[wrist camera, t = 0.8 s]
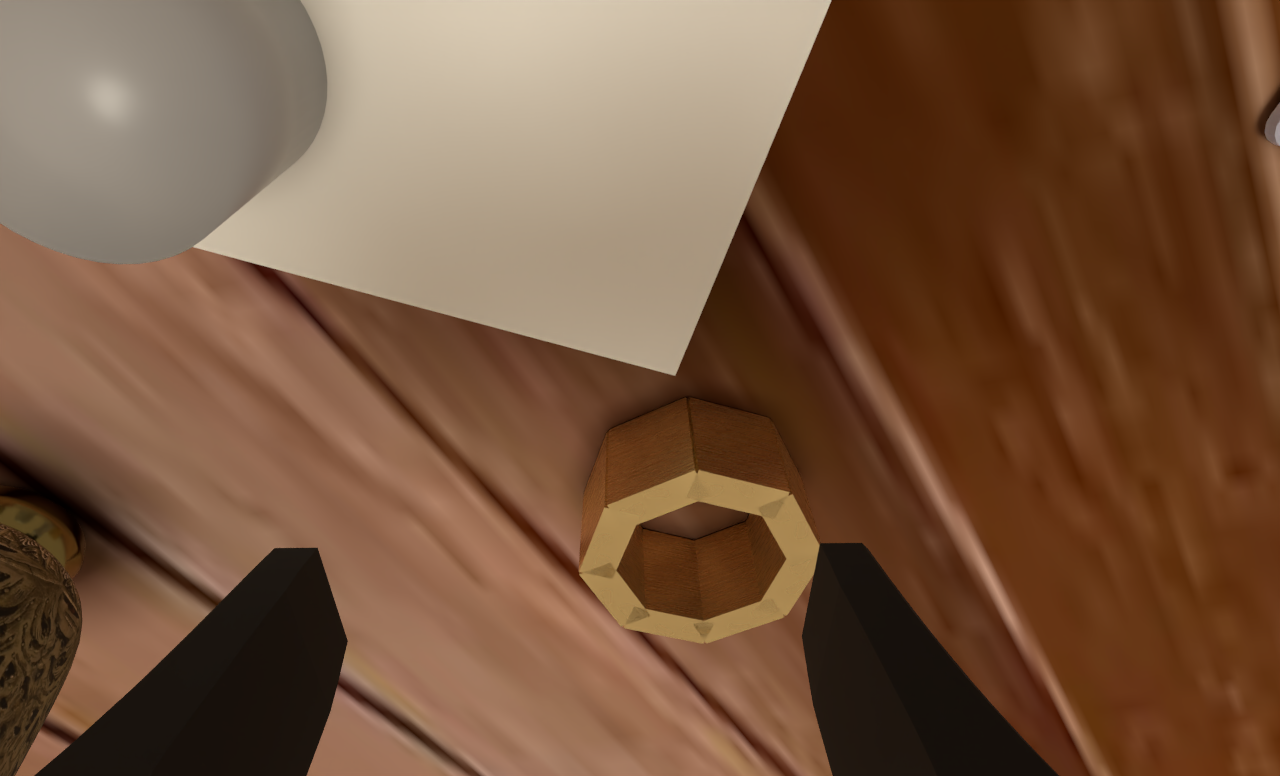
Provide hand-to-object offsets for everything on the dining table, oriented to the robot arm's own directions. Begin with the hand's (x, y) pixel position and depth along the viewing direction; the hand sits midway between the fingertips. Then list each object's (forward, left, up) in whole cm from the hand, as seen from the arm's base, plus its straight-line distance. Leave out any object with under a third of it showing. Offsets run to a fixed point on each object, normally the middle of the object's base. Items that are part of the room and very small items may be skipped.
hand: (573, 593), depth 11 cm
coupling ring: (-4, +5, -9) cm, 11 cm away
